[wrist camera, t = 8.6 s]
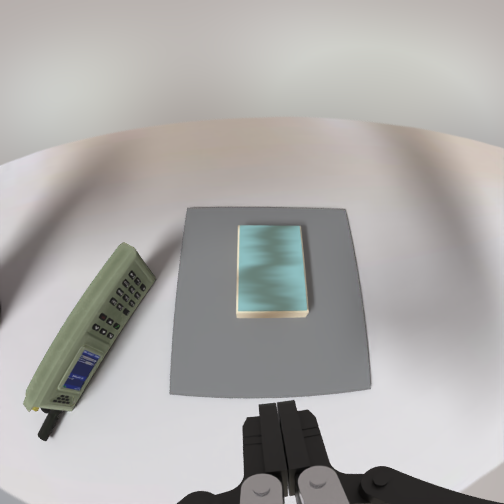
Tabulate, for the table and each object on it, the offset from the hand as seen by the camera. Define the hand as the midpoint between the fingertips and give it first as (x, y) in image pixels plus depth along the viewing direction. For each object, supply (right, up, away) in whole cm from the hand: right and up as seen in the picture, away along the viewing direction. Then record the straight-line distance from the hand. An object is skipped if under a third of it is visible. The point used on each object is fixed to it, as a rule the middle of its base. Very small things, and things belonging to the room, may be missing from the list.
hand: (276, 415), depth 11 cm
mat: (+1, +2, +20) cm, 20 cm away
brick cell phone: (-19, -5, +16) cm, 25 cm away
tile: (+1, +1, +17) cm, 17 cm away
